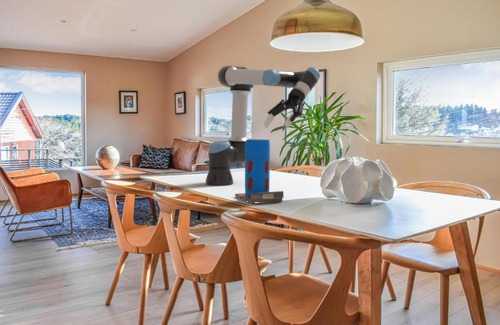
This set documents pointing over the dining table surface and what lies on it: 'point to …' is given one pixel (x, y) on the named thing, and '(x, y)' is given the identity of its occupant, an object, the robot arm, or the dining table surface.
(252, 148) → the blue tall block
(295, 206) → the dining table surface
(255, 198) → the shelf board
